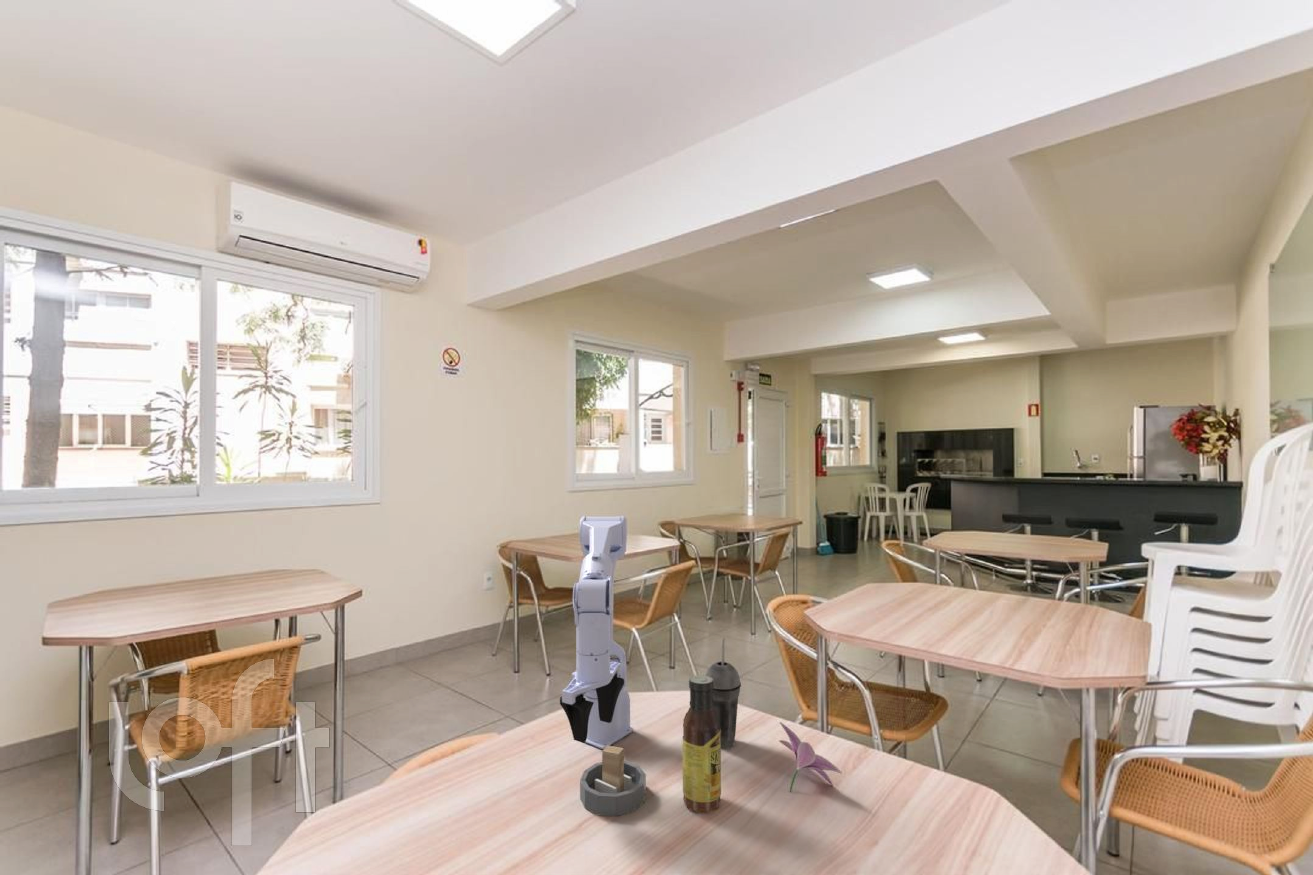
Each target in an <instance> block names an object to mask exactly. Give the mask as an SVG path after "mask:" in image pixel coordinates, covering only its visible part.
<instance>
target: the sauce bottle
mask: <svg viewBox="0 0 1313 875" xmlns="http://www.w3.org/2000/svg"><path fill="white" fill-rule="evenodd" d="M688 688H689V697H690V698H689V699H690V700H689V708H688V710H687V712H686V713H685V715H684V718H683V723H682V729H683V730H682V732H683V736H682V793H683V794H682V795H683V803H684V805H685V806H686V808H688V810H691V811H693V812H695V813H696V812H697V813H704V814H705V813H709V812H712V811H715V810H716V809H717V808H718V807H719V806H720V803H721V795H722V749H721V728H720V725H719V722H718V719H717V716H716V714H715V711H714V707H713V688H714V684H713V679H712V678H711V677H709V676H706V674H698V675H697V674H696V675H692V676H691V677H689V680H688Z"/></svg>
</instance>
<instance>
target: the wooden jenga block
mask: <svg viewBox="0 0 1313 875" xmlns="http://www.w3.org/2000/svg"><path fill="white" fill-rule="evenodd" d="M624 750H625V748H623V747H619V746H612V745H610V746H609V745H607V746H606V747H605V748H604V749H602V750H601V756H602V757H601V758H602V760H601V762H602V781H603V782H606V783H608V784H610V785H612V786H615V787H617V793H620V792H623V791H624V761H625V760H624V759H625V757H624V756H625V752H624Z"/></svg>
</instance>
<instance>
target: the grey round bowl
mask: <svg viewBox="0 0 1313 875" xmlns="http://www.w3.org/2000/svg"><path fill="white" fill-rule="evenodd" d="M579 787H580V788H579V800H580V802H581V804H582V806H583V807H584V809H585V810H588V812H589V811H590V812H592V813H593V814H595V815H598V816H611V817H618V816H622V815H625V814H628V813H632V812H634V811H635V810H637V809H638V808H639V807H640V806H642V805H643V804H644V803H645V800H646V794H647V774H646V773H645V771H644V770H643V768H642V767H641V766H640V765H637V764H635V763H633V762H631V761H627V760H624V791H623V792H620V793H617V787H615V786H612V785H610V784H608V783H606V782H603V781H602V761H600V762H596V763H594V764H593V765H590V766H589V767H588V768H586V769H585V770H584V771H583V773H582V775H581V778H580V780H579Z"/></svg>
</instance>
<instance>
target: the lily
mask: <svg viewBox="0 0 1313 875" xmlns="http://www.w3.org/2000/svg"><path fill="white" fill-rule="evenodd" d="M779 724H780V725H781V727H782V729H784V731H785V733H786V734H787V737H788V738H789V741H790V742H789V741H787V740H783V739H781V740H778V741H779V742H780V744H782V745H783V746H785V747H786V748H788V749H789V750H791V751H792V752H793V754H794V755H795V759H796V763H797V768H796V769H795V773H793V774H794V775H793V777H792V780H791V783H790V787H789V791H788V792H789V793H792V789H793V785H794V782H795V778H796V776H797V774H798V772H799V770H800V769H809V770H813V771H815V772H817V773H818V774H819V775H820V776H821V777H822V778H823V779H824V780H825V781H827V783H829V785H831V786H832V787H834V785H833V782H832V780H831V778H830V777H829V775H828V774H827V773H826V771H831V772H834V773H835V772H836V773H838V774H842V773H843V772H842V771H841V770H840V769H839V768H838V767H837V766H836V765H835V764H833V763H832V762H831V761H830V760H828V759H827V758H825V757H823V756H822V755H819V754H816V753H815V750H814V748H813V746H812V745H811V744H810V743H809V742H807V741H801V739H800V738H799V737H798V735H797V734H796V733H795V732H794V731H793V730H791V729H790V728H789V727H788V726H787V725H785V724H784V723H782V722H779Z"/></svg>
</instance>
